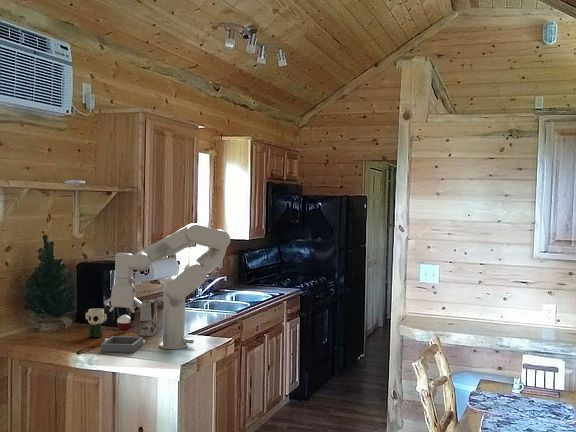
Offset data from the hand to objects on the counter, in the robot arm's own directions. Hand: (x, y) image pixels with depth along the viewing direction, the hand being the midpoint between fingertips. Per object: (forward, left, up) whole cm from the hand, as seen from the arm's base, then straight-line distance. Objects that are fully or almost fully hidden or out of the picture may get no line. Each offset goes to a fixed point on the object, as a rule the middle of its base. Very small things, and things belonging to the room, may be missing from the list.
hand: (122, 320), depth 270 cm
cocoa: (-1, 0, -4) cm, 4 cm away
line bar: (+2, -10, -12) cm, 16 cm away
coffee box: (-4, -30, -13) cm, 32 cm away
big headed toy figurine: (+19, -19, -13) cm, 30 cm away
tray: (0, 0, -12) cm, 12 cm away
